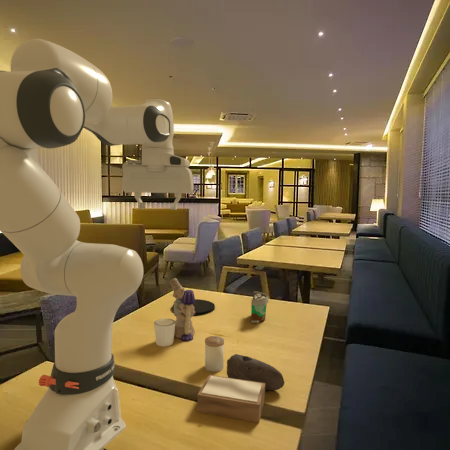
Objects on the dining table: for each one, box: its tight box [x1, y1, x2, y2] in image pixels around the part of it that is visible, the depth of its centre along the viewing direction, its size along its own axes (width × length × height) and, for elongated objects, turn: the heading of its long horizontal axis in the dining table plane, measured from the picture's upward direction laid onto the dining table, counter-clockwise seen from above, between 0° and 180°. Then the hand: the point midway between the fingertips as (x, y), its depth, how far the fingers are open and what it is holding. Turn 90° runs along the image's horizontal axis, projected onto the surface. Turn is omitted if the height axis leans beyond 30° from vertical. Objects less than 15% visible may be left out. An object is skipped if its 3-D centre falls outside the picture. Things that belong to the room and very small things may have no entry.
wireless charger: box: [172, 298, 216, 317], centre depth 148 cm, size 18×18×2 cm
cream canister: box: [204, 335, 225, 373], centre depth 99 cm, size 5×5×8 cm
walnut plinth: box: [196, 374, 266, 423], centre depth 81 cm, size 9×14×4 cm, turn 76°
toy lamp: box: [180, 289, 196, 342], centre depth 117 cm, size 5×5×17 cm
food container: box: [250, 290, 269, 324], centre depth 135 cm, size 12×6×10 cm, turn 171°
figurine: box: [169, 277, 196, 339], centre depth 120 cm, size 9×8×20 cm
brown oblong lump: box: [226, 353, 285, 391], centre depth 89 cm, size 15×5×7 cm, turn 64°
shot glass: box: [153, 318, 175, 347], centre depth 114 cm, size 7×7×7 cm
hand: (157, 209), depth 100 cm, fingers open, 8 cm apart
